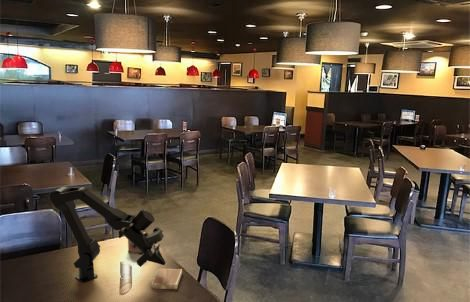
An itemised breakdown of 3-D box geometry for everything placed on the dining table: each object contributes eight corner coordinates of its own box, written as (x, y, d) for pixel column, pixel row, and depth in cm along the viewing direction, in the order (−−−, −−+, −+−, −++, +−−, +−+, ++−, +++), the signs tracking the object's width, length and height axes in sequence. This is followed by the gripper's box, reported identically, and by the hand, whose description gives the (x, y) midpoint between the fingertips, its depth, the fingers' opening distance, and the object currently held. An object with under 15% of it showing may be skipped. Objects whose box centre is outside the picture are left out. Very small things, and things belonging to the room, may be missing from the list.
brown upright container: (126, 253, 173) (126, 233, 172) (130, 250, 177) (129, 230, 175) (142, 255, 172) (141, 235, 170) (145, 252, 175) (145, 232, 173)
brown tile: (151, 283, 144) (176, 284, 144) (158, 268, 156) (182, 269, 156) (151, 289, 144) (176, 290, 144) (158, 273, 156) (182, 274, 156)
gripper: (144, 233, 137) (173, 262, 138) (156, 216, 155) (182, 241, 157) (124, 252, 139) (153, 280, 140) (138, 233, 157) (164, 258, 158)
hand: (164, 264), depth 149 cm, fingers closed
